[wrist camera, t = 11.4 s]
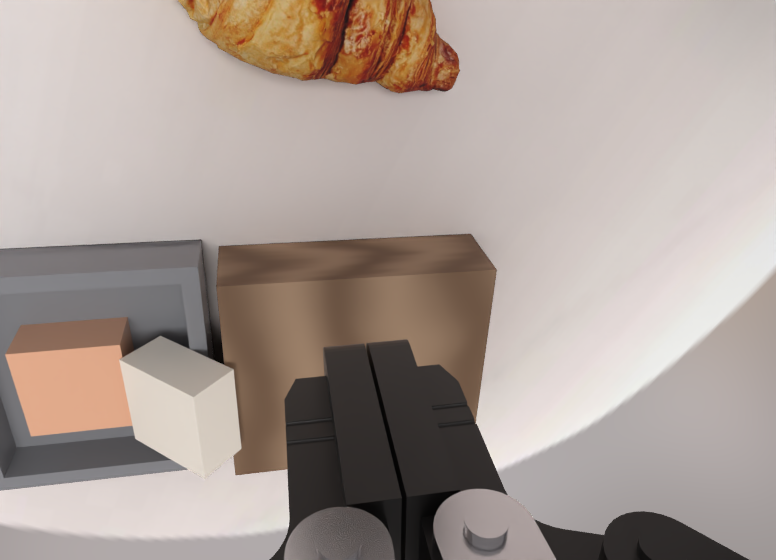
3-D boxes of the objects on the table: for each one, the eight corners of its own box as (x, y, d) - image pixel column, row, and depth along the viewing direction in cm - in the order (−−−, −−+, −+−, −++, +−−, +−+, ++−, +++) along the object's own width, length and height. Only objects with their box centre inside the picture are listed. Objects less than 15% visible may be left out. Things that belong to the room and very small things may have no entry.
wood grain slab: (470, 234, 42) (496, 269, 38) (451, 401, 49) (472, 447, 45) (218, 246, 39) (216, 286, 35) (236, 423, 46) (235, 475, 42)
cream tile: (233, 369, 37) (193, 397, 34) (241, 448, 39) (205, 479, 37) (160, 335, 39) (119, 359, 37) (172, 412, 42) (135, 438, 40)
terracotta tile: (4, 354, 36) (20, 325, 38) (31, 436, 39) (44, 404, 41) (119, 344, 37) (127, 316, 39) (136, 425, 40) (142, 394, 42)
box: (201, 239, 39) (197, 266, 36) (222, 430, 46) (220, 465, 43) (-59, 251, 36) (-86, 282, 33) (7, 451, 43) (-10, 491, 40)
